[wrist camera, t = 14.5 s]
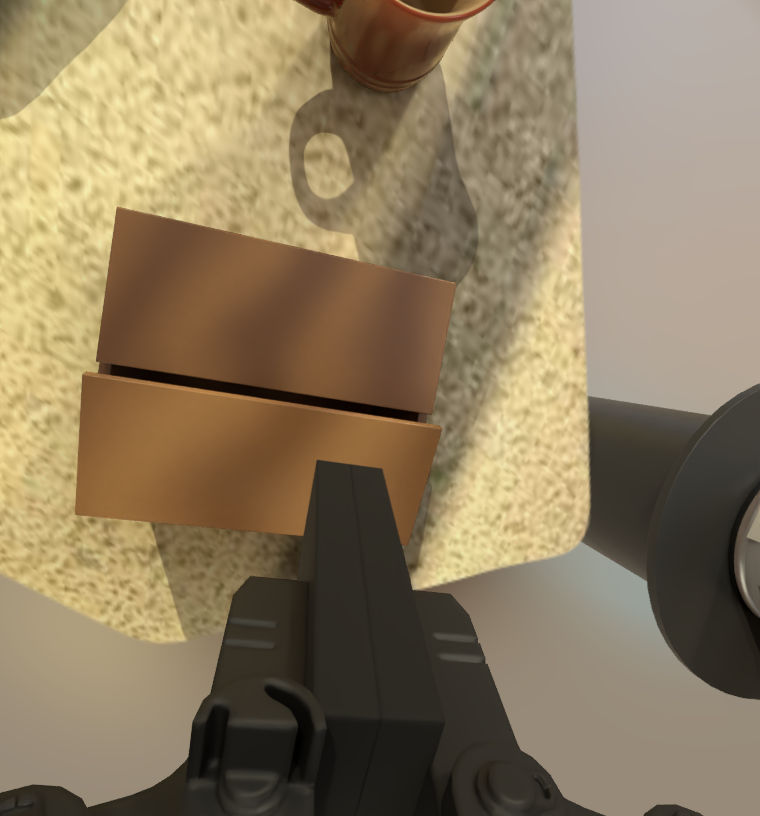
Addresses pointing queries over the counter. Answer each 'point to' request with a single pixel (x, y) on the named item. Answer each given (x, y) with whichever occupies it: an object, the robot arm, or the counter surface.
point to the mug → (392, 36)
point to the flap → (231, 456)
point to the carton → (270, 320)
